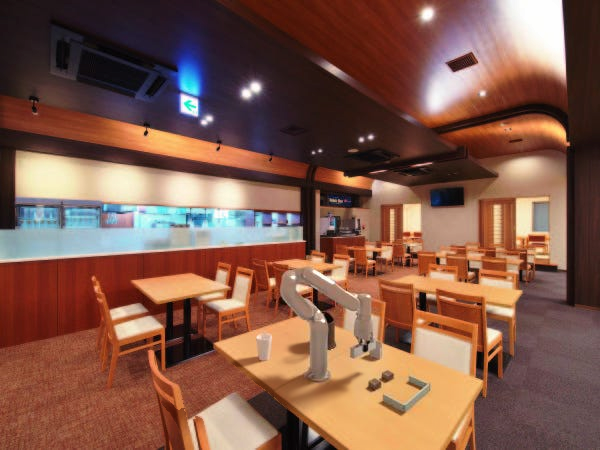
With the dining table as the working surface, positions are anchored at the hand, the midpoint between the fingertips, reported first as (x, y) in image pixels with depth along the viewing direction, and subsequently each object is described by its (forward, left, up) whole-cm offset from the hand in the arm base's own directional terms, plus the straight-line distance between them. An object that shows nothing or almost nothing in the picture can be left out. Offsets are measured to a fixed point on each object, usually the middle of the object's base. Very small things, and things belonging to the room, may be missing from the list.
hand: (363, 350), depth 149 cm
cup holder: (+7, +38, -13) cm, 41 cm away
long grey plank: (0, 0, -1) cm, 1 cm away
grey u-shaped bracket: (0, -25, -14) cm, 29 cm away
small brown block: (+6, -11, -13) cm, 18 cm away
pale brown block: (+22, +7, -13) cm, 27 cm away
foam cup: (-32, +50, -13) cm, 61 cm away
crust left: (-6, -11, -13) cm, 18 cm away
